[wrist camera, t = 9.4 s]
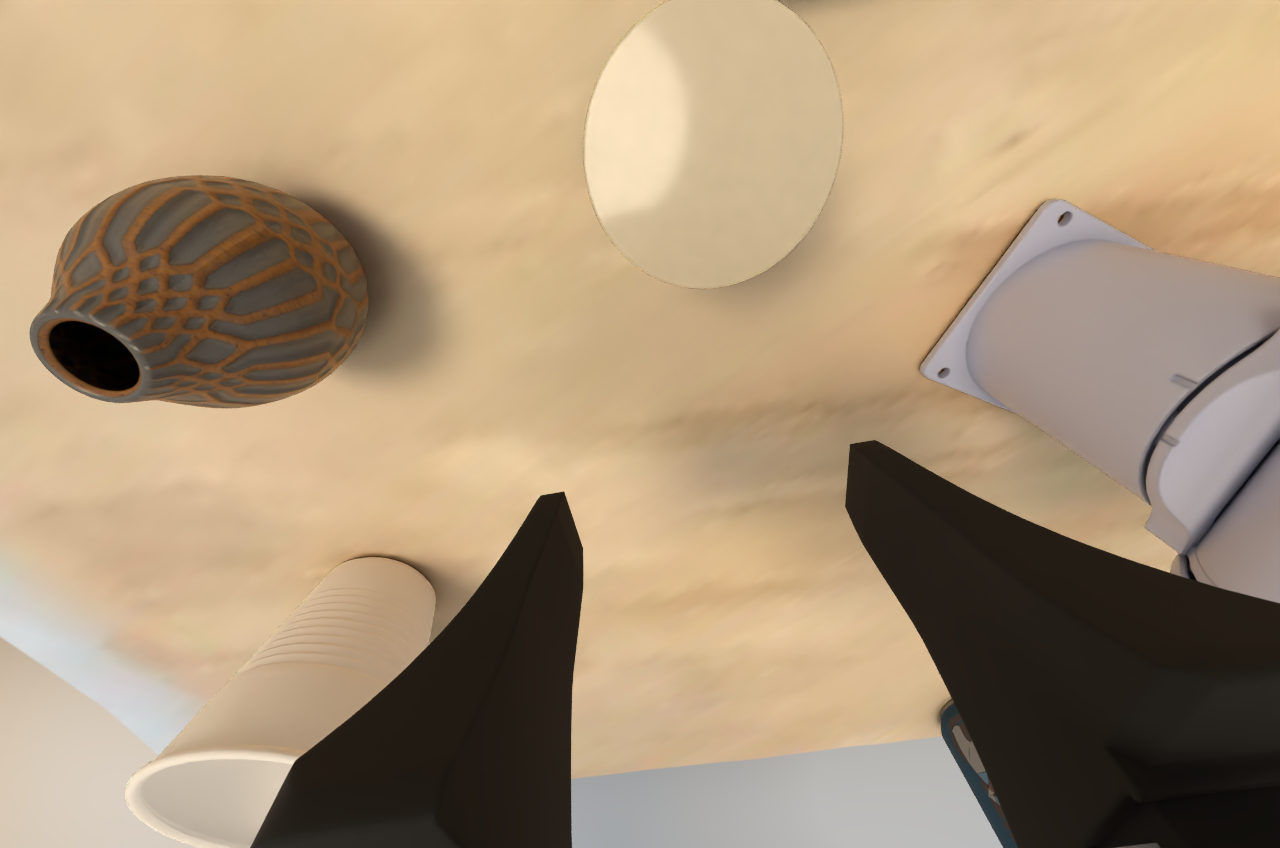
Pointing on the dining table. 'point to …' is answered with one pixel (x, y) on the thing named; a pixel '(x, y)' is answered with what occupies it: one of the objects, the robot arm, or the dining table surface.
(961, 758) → the soda can
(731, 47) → the jar
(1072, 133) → the dining table surface
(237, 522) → the dining table surface
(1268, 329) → the robot arm
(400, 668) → the cup
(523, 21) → the dining table surface
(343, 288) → the vase
